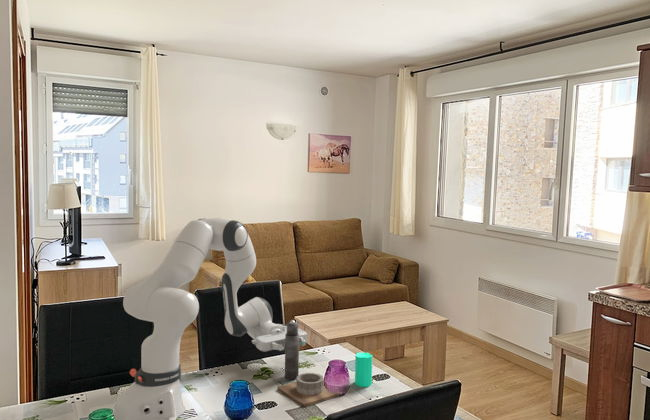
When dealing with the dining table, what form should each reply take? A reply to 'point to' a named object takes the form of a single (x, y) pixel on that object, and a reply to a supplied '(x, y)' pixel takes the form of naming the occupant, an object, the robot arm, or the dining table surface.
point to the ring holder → (307, 390)
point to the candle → (363, 369)
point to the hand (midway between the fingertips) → (293, 345)
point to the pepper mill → (292, 351)
